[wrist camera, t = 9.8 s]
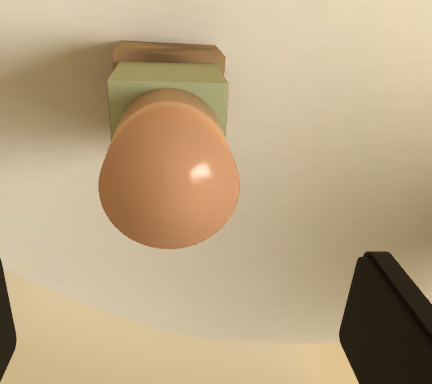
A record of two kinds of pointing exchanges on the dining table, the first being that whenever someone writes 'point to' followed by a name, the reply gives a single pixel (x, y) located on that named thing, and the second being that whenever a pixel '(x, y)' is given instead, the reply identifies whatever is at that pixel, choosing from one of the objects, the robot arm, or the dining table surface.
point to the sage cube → (166, 85)
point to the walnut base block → (167, 53)
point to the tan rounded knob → (168, 171)
